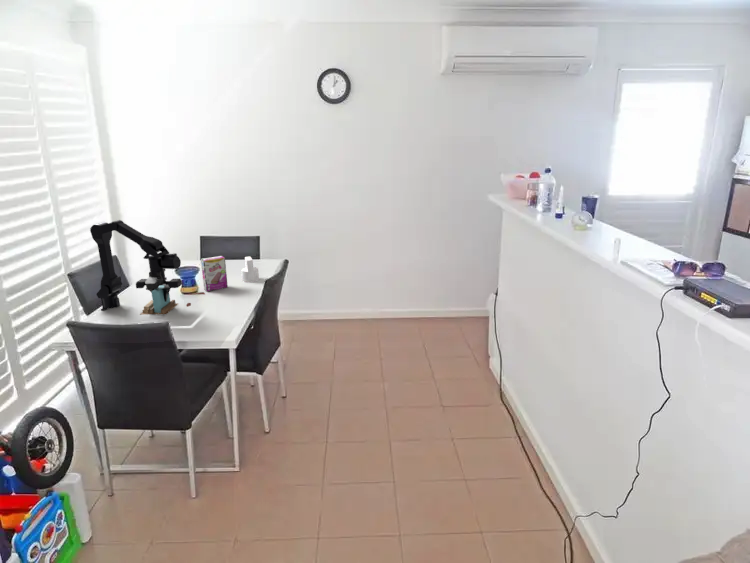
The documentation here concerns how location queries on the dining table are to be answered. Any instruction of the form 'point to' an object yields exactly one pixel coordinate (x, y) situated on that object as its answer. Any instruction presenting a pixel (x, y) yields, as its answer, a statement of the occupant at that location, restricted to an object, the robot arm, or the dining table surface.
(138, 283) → the robot arm
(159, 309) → the teal panel
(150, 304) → the oak offcut slats
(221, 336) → the dining table surface
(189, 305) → the wooden tablet
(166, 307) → the walnut rack
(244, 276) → the base with upright slab
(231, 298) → the dining table surface
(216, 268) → the candy bar box
